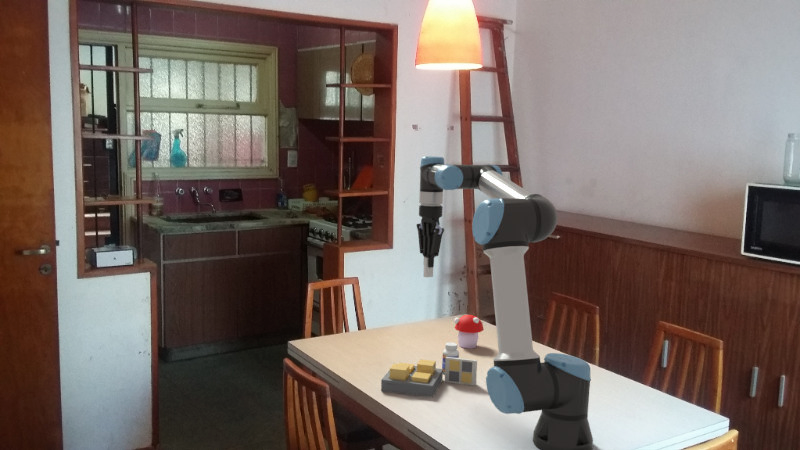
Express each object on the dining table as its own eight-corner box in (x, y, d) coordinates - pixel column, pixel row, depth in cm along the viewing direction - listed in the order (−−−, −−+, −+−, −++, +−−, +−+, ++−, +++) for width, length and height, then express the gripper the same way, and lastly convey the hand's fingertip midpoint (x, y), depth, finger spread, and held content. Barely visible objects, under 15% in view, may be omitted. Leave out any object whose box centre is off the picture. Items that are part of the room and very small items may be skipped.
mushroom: (448, 343, 272) (449, 312, 271) (473, 340, 277) (474, 309, 275) (462, 351, 263) (463, 319, 261) (488, 348, 267) (489, 316, 266)
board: (432, 397, 216) (432, 385, 216) (381, 390, 220) (381, 379, 220) (442, 379, 232) (442, 369, 231) (394, 374, 236) (394, 363, 235)
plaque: (475, 385, 227) (476, 361, 226) (444, 382, 230) (445, 357, 229) (476, 384, 229) (477, 360, 228) (445, 380, 231) (446, 356, 230)
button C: (432, 378, 225) (432, 365, 225) (416, 376, 226) (417, 364, 226) (435, 373, 230) (435, 361, 229) (420, 371, 231) (420, 359, 231)
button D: (410, 381, 227) (410, 369, 227) (395, 379, 228) (395, 367, 228) (413, 376, 232) (414, 364, 231) (398, 374, 233) (399, 362, 233)
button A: (427, 391, 219) (427, 378, 218) (411, 389, 220) (411, 377, 219) (430, 386, 224) (431, 373, 223) (415, 384, 225) (415, 371, 224)
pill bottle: (439, 373, 238) (440, 344, 237) (445, 368, 243) (447, 340, 242) (454, 376, 236) (455, 347, 234) (460, 371, 240) (461, 343, 239)
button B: (405, 382, 220) (405, 370, 220) (389, 381, 221) (389, 368, 221) (409, 377, 225) (409, 365, 224) (393, 375, 226) (393, 363, 226)
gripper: (452, 206, 227) (449, 279, 230) (429, 202, 238) (427, 272, 241) (432, 207, 223) (429, 281, 227) (410, 202, 234) (407, 273, 238)
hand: (428, 276), depth 234 cm, fingers closed
